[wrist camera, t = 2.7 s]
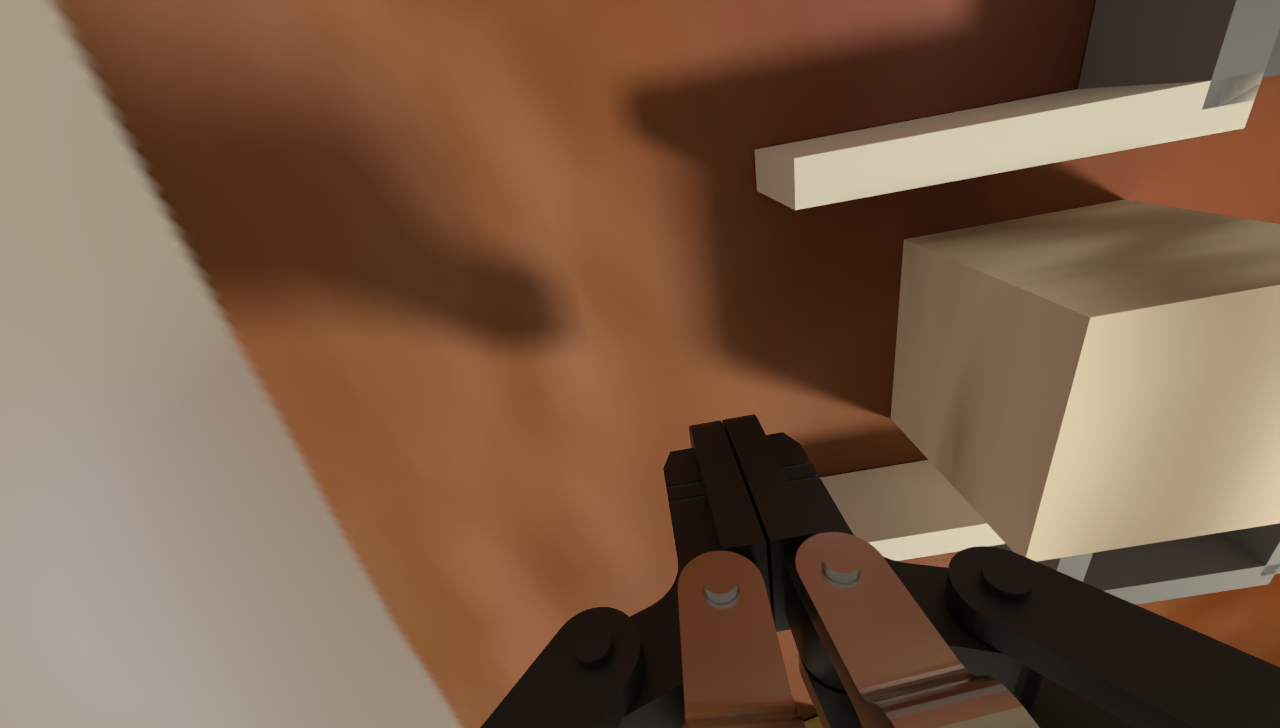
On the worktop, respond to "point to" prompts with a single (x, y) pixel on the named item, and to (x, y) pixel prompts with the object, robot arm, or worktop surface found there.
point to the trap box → (1032, 136)
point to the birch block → (1097, 373)
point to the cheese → (813, 723)
